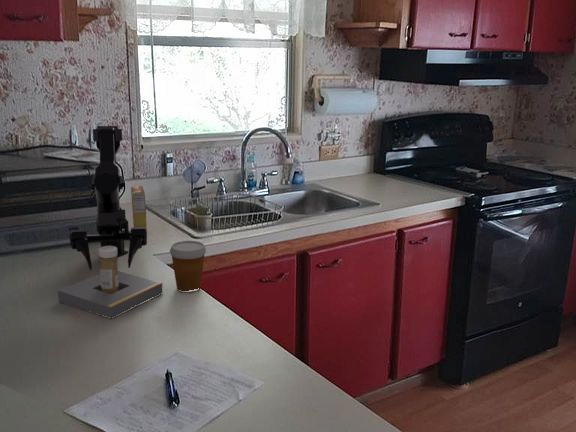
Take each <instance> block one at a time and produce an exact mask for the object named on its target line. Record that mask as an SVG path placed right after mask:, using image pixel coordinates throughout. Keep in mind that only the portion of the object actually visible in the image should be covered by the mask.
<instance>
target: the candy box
mask: <svg viewBox="0 0 576 432" xmlns="http://www.w3.org/2000/svg"><path fill="white" fill-rule="evenodd" d="M130 190H131V191H130V192H131V193H130V194H131V209H132V220H133V221H132V223H133V228H136V227H145V228H146V230H147V231H148V227H147V210H146V209H147V206H146V193H145V189H144V186H143V185H138V186H137V185H136V186H131V187H130Z"/></svg>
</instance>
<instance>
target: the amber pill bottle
mask: <svg viewBox="0 0 576 432" xmlns="http://www.w3.org/2000/svg"><path fill="white" fill-rule="evenodd" d="M97 253H99V254H98V258H99V274H100V279H101V291H102V292H106V293H109V294H112V293H115V292H117V291H119V281H118V271H119V268H118V257H117V255H118V252H117V247H115V246H103V247H101V246H100V247H99V248H98V251H97Z"/></svg>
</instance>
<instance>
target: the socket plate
mask: <svg viewBox="0 0 576 432" xmlns="http://www.w3.org/2000/svg"><path fill="white" fill-rule="evenodd" d="M118 281H119V291H117V292H115V293H112V294H109V293H106V292H102V291H101V279H100V273H99V274H97V275H94V276H92V277H89V278H85V279H84V280H81V281H79V282H76V283H74V284H71V285H69V286H66V287H63V288H62V289H58V291H57V292H58V293H57V294H58V302H59V303H61V304H65V305H67V306H70V307H73V306H74V308H76V307H77V308H76V309H79V308H80V310H82V309H84V310H83V311H85V310H87V311H86V312H88V311H91V312H94V313H97V314H100V315H104V316H107V317H110V318H112V317H114V316H116V315H118V314H120V313H122V312H124V311H126V310H128V309H130V308H131V307H134V306H135V305H138V304H140V303H142V302H144V301H146V300H148V299H150V298H152V297H155V296H157V295H159V294H161V293H163V292H164V291H163V282H161V281H155V280H151V279H147V278H144V277H140V276H137V275H134V274H130V273H127V272H123V271H119V270H118ZM91 312H90V313H91ZM94 313H93V314H94ZM97 314H96V315H97ZM100 315H99V316H100Z"/></svg>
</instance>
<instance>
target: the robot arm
mask: <svg viewBox="0 0 576 432" xmlns="http://www.w3.org/2000/svg"><path fill="white" fill-rule="evenodd" d="M92 142H95V146H96V148H97V150H98V151H99V164H97V166H96V167H95V168H94V169H95V170H94V171H95V172H94V173H95V174H94V176H92V179H91V181H92V182H91V187H92V191H94V193H95V199H96V215H97V216H96V233H97V234H88V231H87V229H75V230H71V231H70V232H69V242H70V247H71V249H73V250H76V251H77V252H79V253H81V254H82V255H83V257H84V259H85V261H86V264H87V267H88V268H89V271H92V270H93V265H92V259H91V252H90V247H89V243H100V247H103V246H115V247H117V252H118V255H117V258H118V257H120V256H124V255H126V254H128V259H127V268H129V269H130V268H131V267H132V266H131V265H132V263H133V260H134V257H135V255H136V253H137V252H138V250H139V249H142V248H143V246H147V245H148V244H147V243H148V229H147V230H146V228H145V227H136V228H134V227H130V226H129V220H128V219H127V218H126V217H127V216H126V209H122V208H121V205H120V204H121V203H120V201H121V200H120V193H121V190H123V189H124V188H125V187H126V183H125V181H126V180H125V179H124V177H123V175H121V174H120V167H119V166H117V158H116V156H117V154H118V153H119V150H120V148H121V142H123V129H122V128H119V126H118V125H97V126H96V128H92ZM129 227H130V229H129ZM125 241H129V247H128V249H129V250H125ZM97 253H98V255H99V252H97Z"/></svg>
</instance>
